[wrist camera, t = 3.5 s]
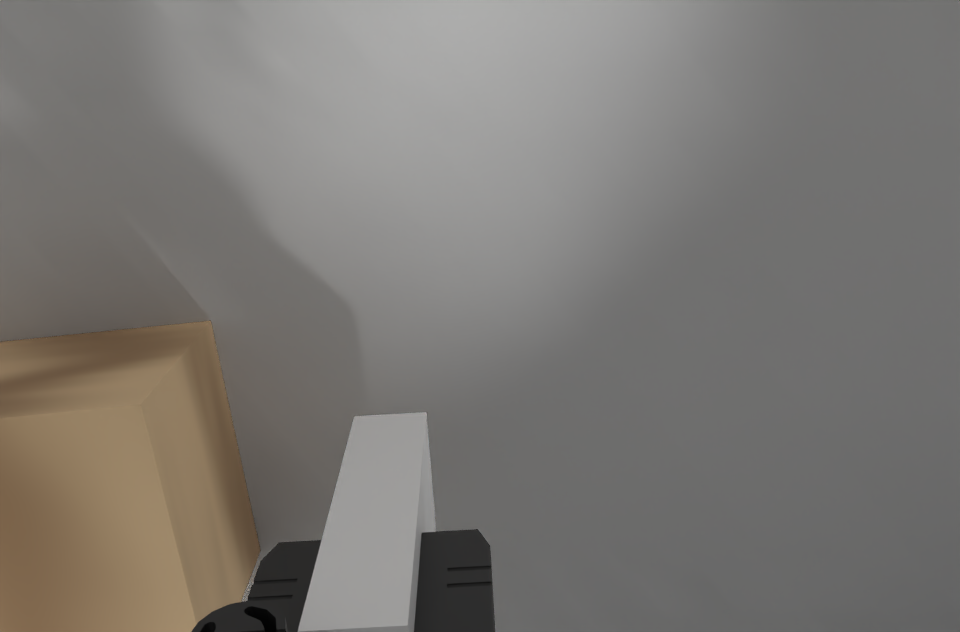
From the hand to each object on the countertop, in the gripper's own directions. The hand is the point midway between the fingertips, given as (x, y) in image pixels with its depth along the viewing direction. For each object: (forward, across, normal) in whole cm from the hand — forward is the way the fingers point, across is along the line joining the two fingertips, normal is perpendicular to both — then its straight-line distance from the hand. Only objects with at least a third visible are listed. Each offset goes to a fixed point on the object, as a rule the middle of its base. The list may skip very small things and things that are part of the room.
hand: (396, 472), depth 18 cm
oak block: (+2, +7, 0) cm, 7 cm away
